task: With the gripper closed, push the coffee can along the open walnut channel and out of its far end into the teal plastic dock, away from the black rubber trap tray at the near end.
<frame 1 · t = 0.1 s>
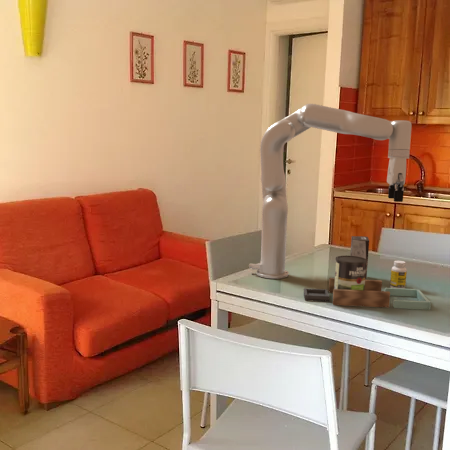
hand: (395, 199, 206), 31 cm above the table, tool pointing down, fingers open, 9 cm apart
trap tray: (316, 297, 188), on the table
dock: (405, 301, 185), on the table
supplement bottle: (397, 288, 202), on the table
coffee box: (357, 279, 213), on the table
channel: (357, 299, 187), on the table
coffee can: (348, 299, 187), on the table
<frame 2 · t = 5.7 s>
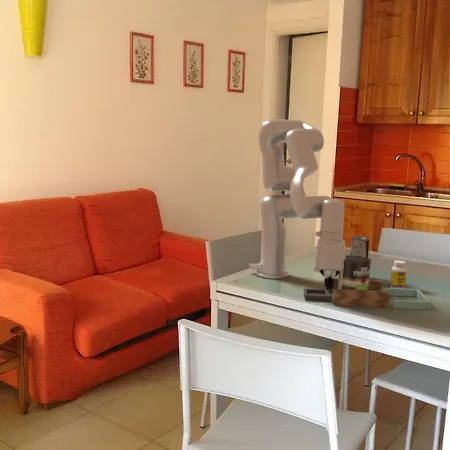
hand: (328, 288, 187), 3 cm above the table, tool pointing down, fingers closed
coffee can: (352, 299, 187), on the table, touching gripper
everything else where it was.
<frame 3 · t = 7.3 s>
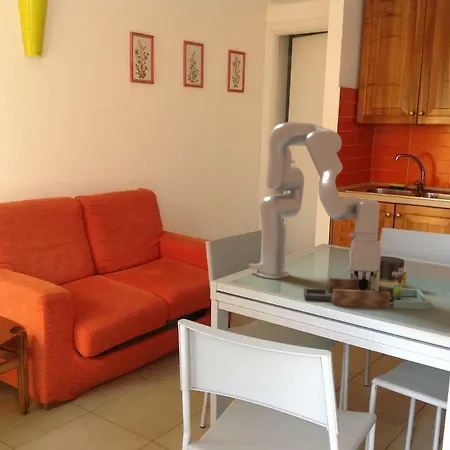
hand: (362, 289, 185), 3 cm above the table, tool pointing down, fingers closed
coffee can: (385, 300, 187), on the table, touching gripper
everything else where it was.
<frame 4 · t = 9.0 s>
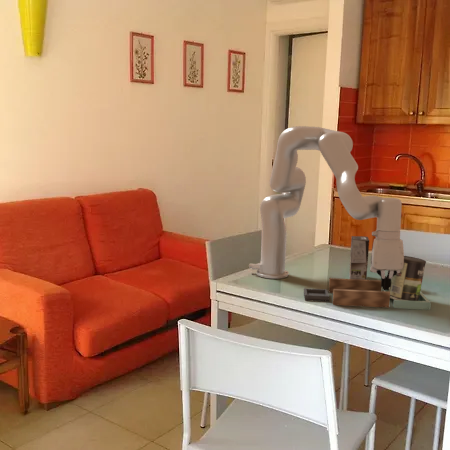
hand: (385, 289, 184), 4 cm above the table, tool pointing down, fingers closed
coffee can: (402, 299, 186), on the table, touching gripper
everything else where it was.
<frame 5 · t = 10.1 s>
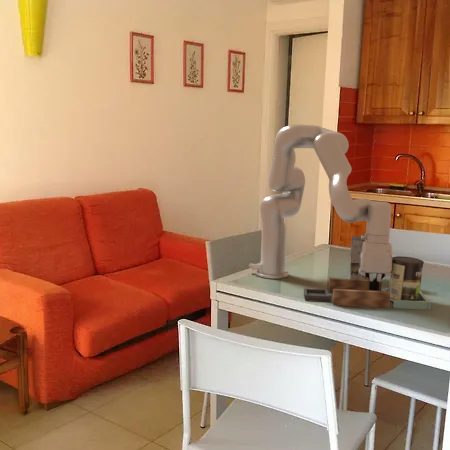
hand: (373, 291, 186), 3 cm above the table, tool pointing down, fingers closed
coffee can: (402, 300, 186), on the table
everything else where it was.
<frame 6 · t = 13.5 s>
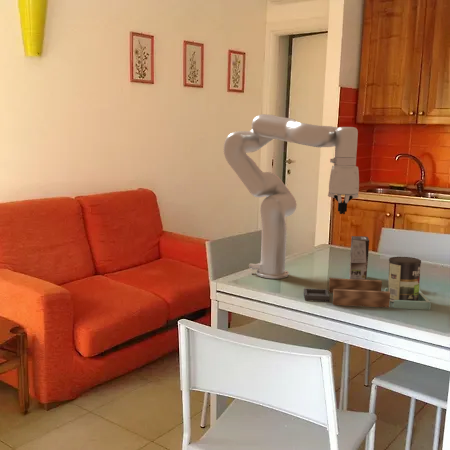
hand: (342, 213, 197), 27 cm above the table, tool pointing down, fingers closed
at the end: coffee can inside the target area (1.5 cm from its centre), on the table; coffee can tilted 2°; coffee can moved 18.4 cm from its start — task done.
